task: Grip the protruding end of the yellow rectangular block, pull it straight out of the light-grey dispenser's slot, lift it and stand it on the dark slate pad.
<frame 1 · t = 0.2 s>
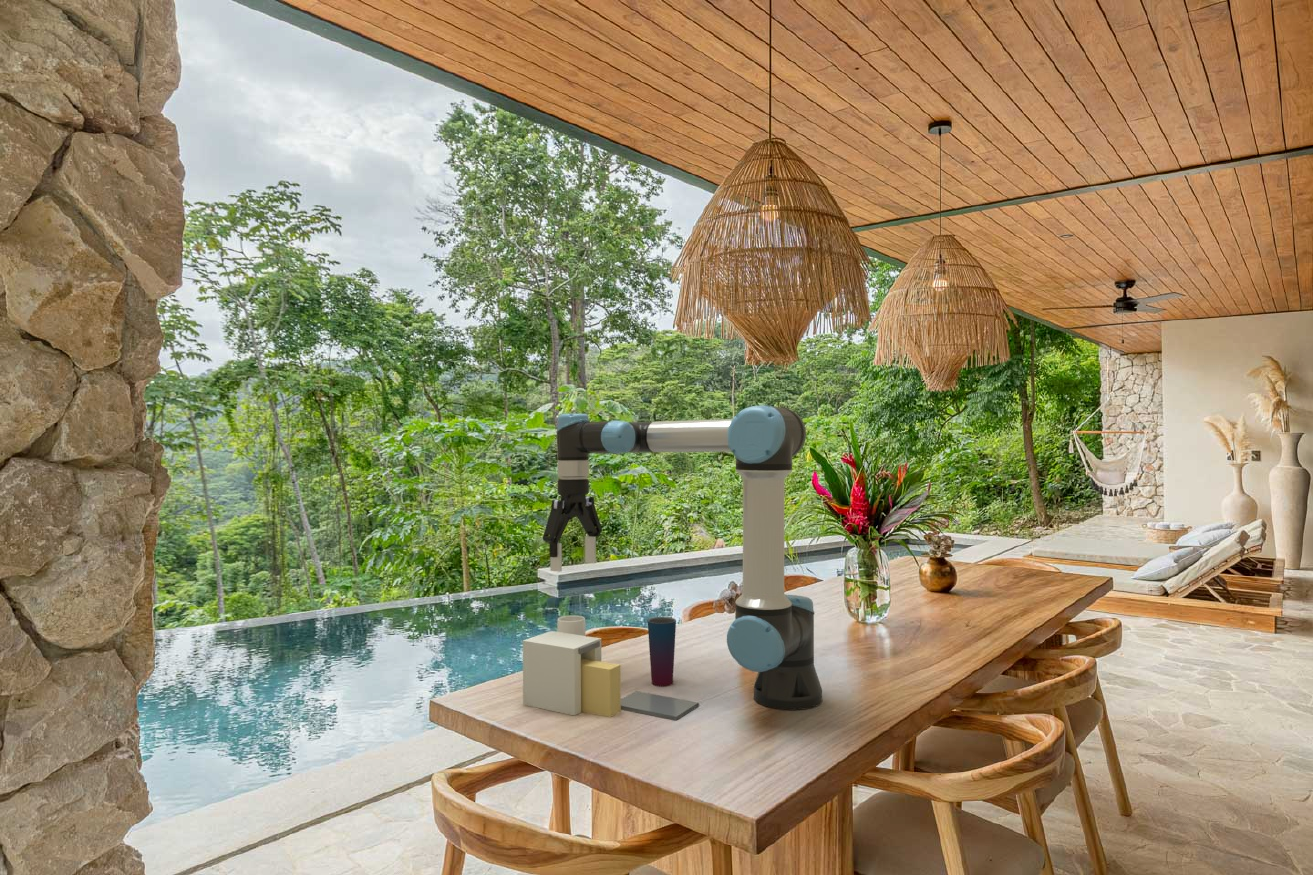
hand: (573, 566, 187), 28 cm above the table, fingers open, 13 cm apart
slate pad: (655, 706, 169), on the table
dispenser: (562, 703, 172), on the table
drinking glass: (571, 681, 188), on the table
yellow rectangular block: (588, 708, 168), on the table
cup: (662, 683, 185), on the table
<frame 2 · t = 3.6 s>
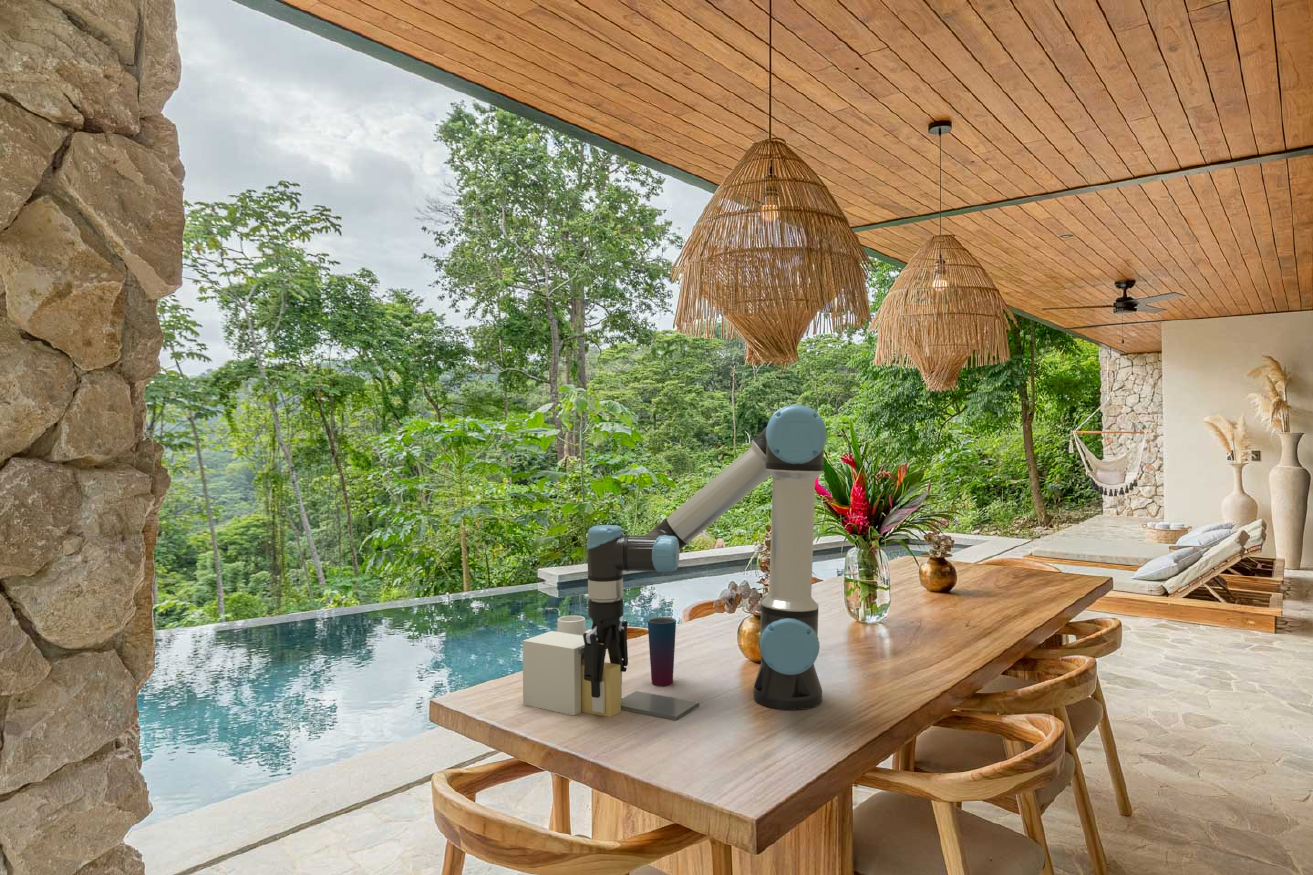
hand: (607, 706, 166), 1 cm above the table, fingers open, 6 cm apart
nothing on the table moved.
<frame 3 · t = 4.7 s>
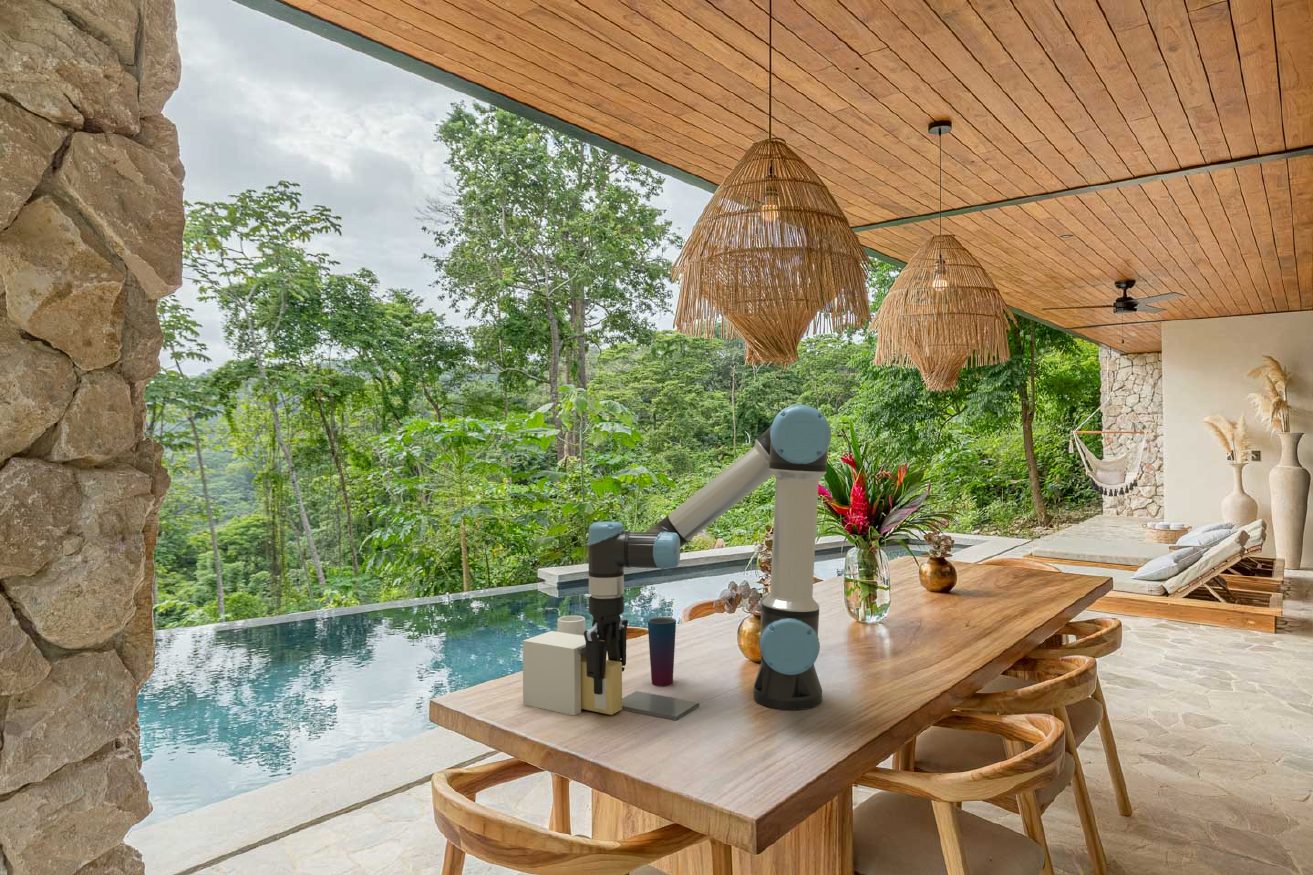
hand: (607, 704, 166), 2 cm above the table, fingers closed on yellow rectangular block, 4 cm apart
yellow rectangular block: (589, 706, 168), on the table, touching gripper
everything else where it was.
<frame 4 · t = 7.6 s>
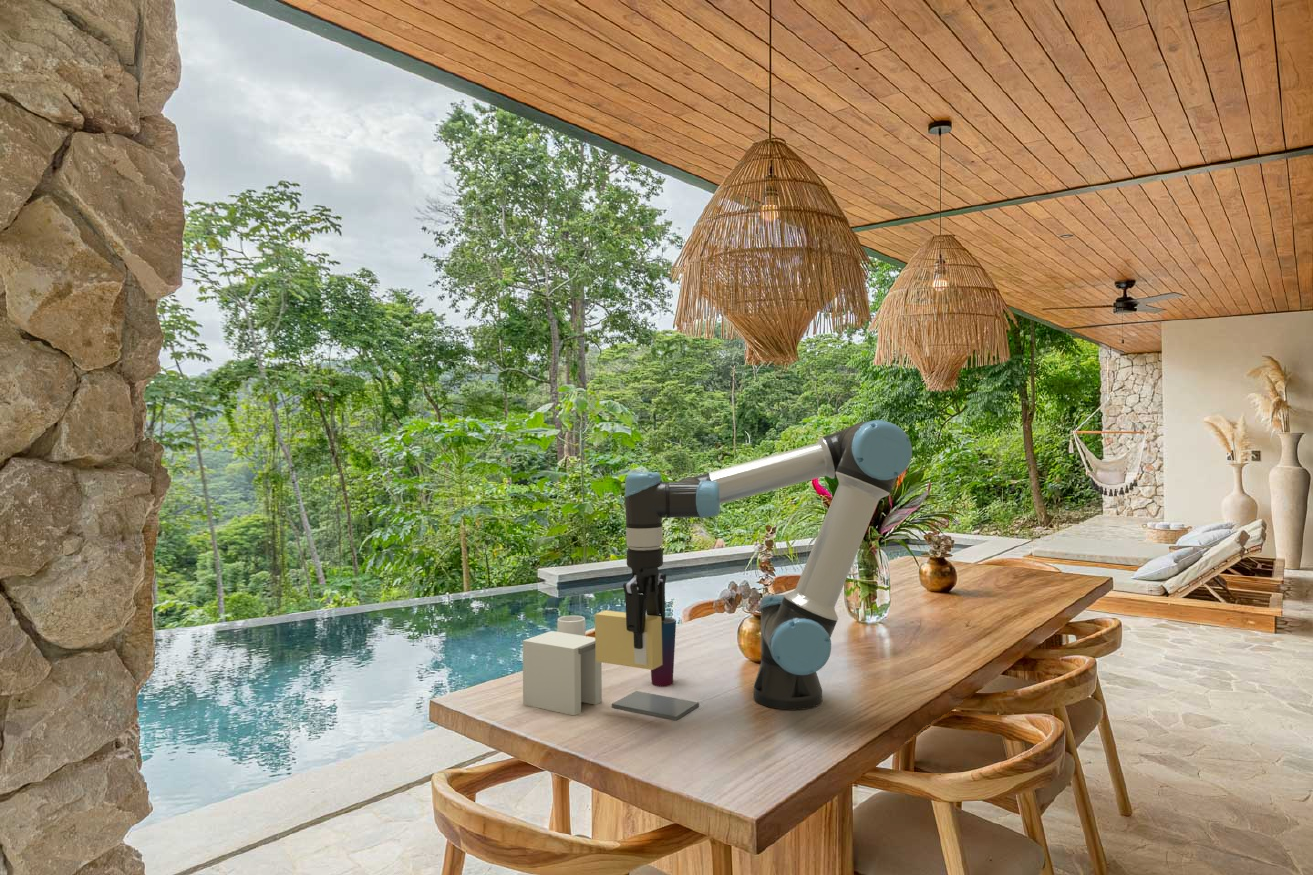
hand: (647, 660, 161), 12 cm above the table, fingers closed on yellow rectangular block, 4 cm apart
yellow rectangular block: (628, 663, 163), point 11 cm above the table, touching gripper
everything else where it was.
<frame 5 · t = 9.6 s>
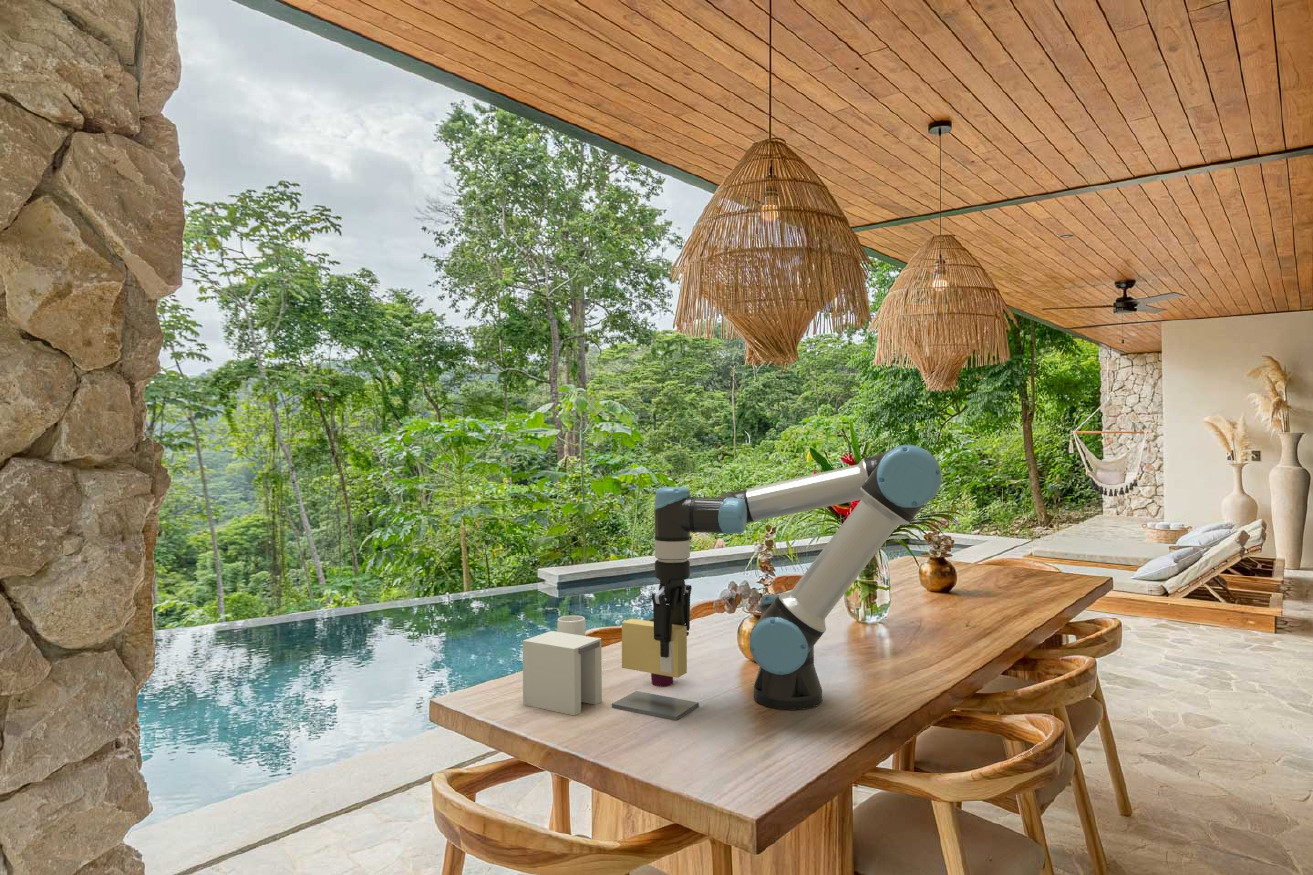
hand: (672, 668, 167), 9 cm above the table, fingers closed on yellow rectangular block, 4 cm apart
yellow rectangular block: (653, 670, 169), point 8 cm above the table, touching gripper
everything else where it was.
when the fingers open (2 cm above the table, at t = 11.0 s): yellow rectangular block stays where it is, resting on slate pad.
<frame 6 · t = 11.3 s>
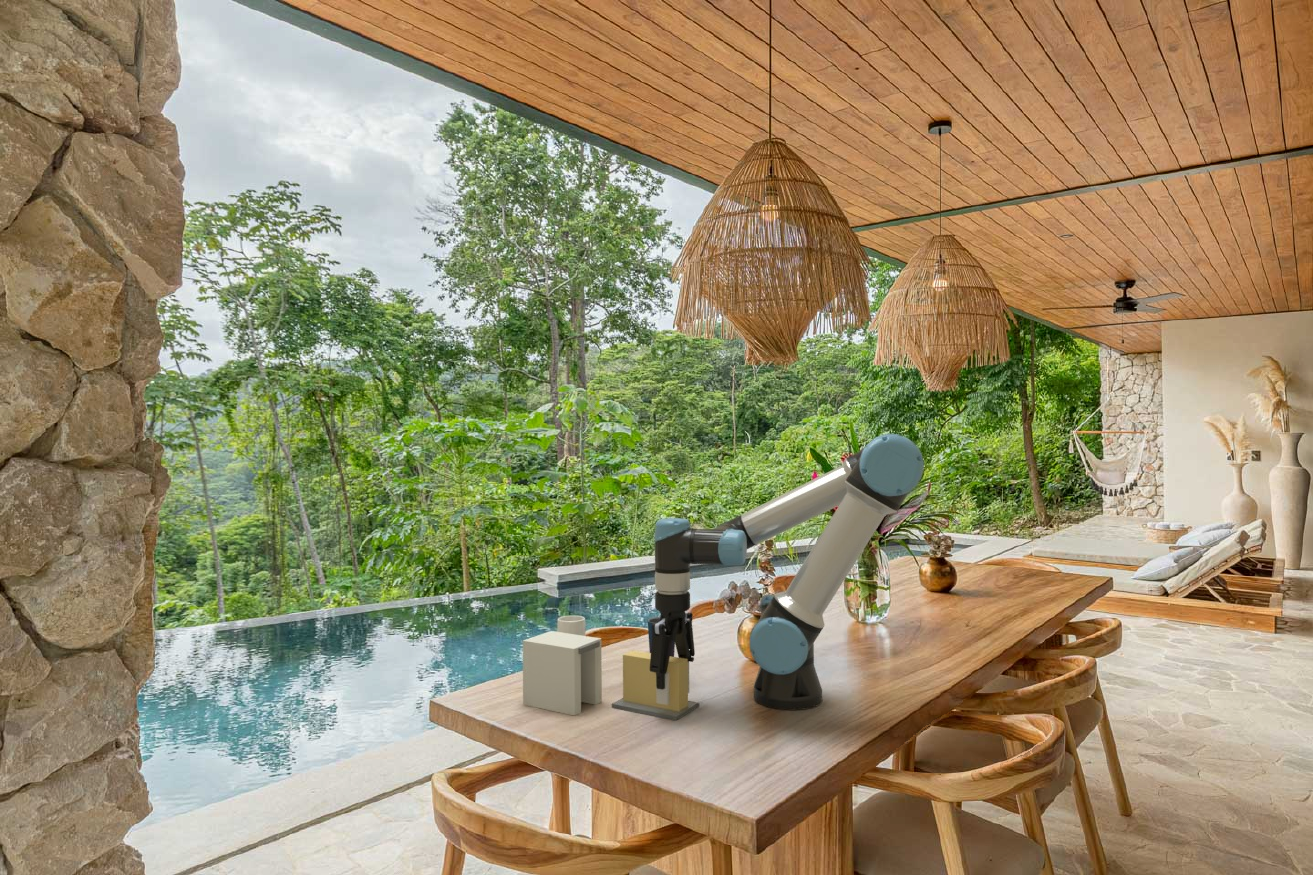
hand: (673, 697, 167), 3 cm above the table, fingers open, 8 cm apart
yellow rectangular block: (655, 702, 169), point 1 cm above the table, touching slate pad
everything else where it was.
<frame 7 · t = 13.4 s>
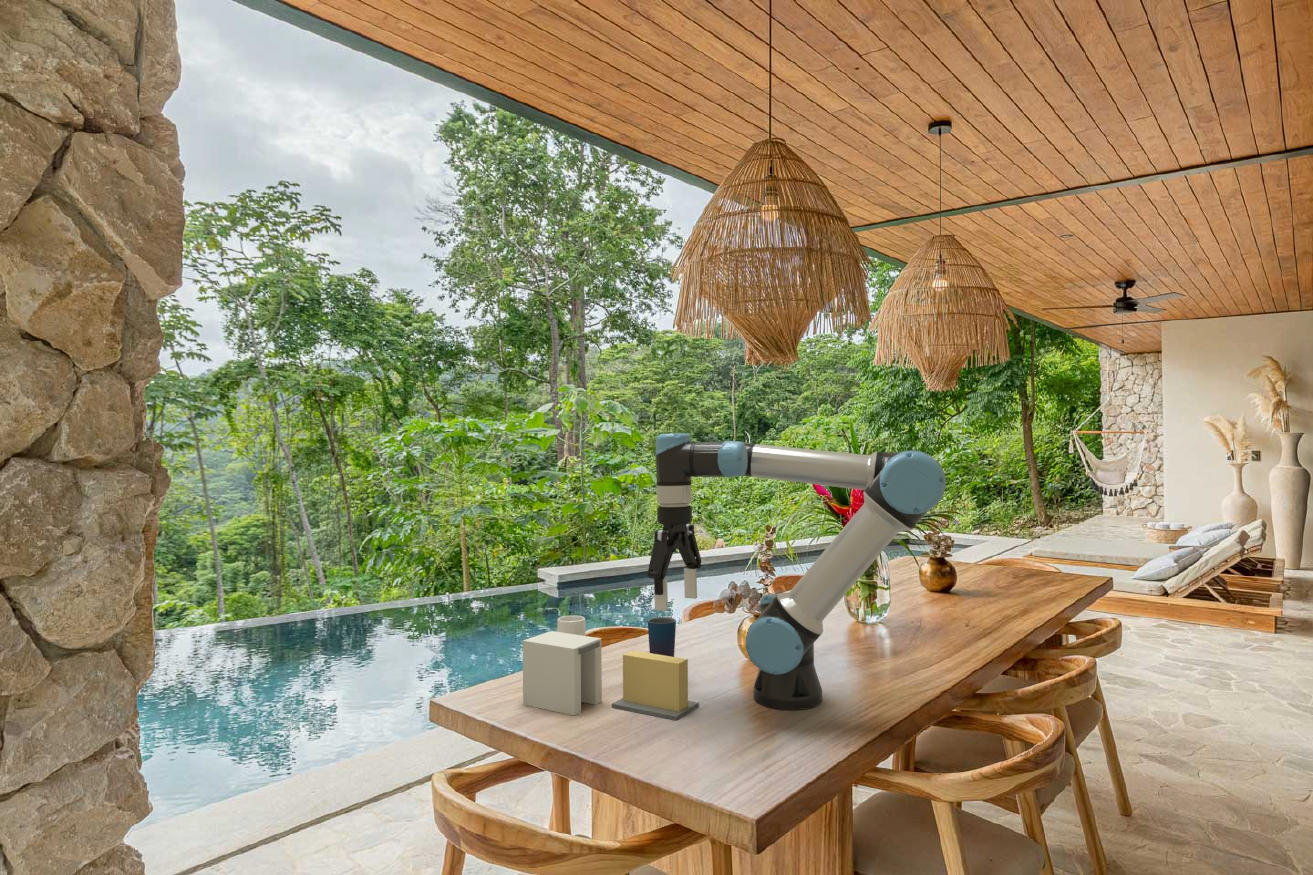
hand: (676, 603, 167), 23 cm above the table, fingers open, 13 cm apart
nothing on the table moved.
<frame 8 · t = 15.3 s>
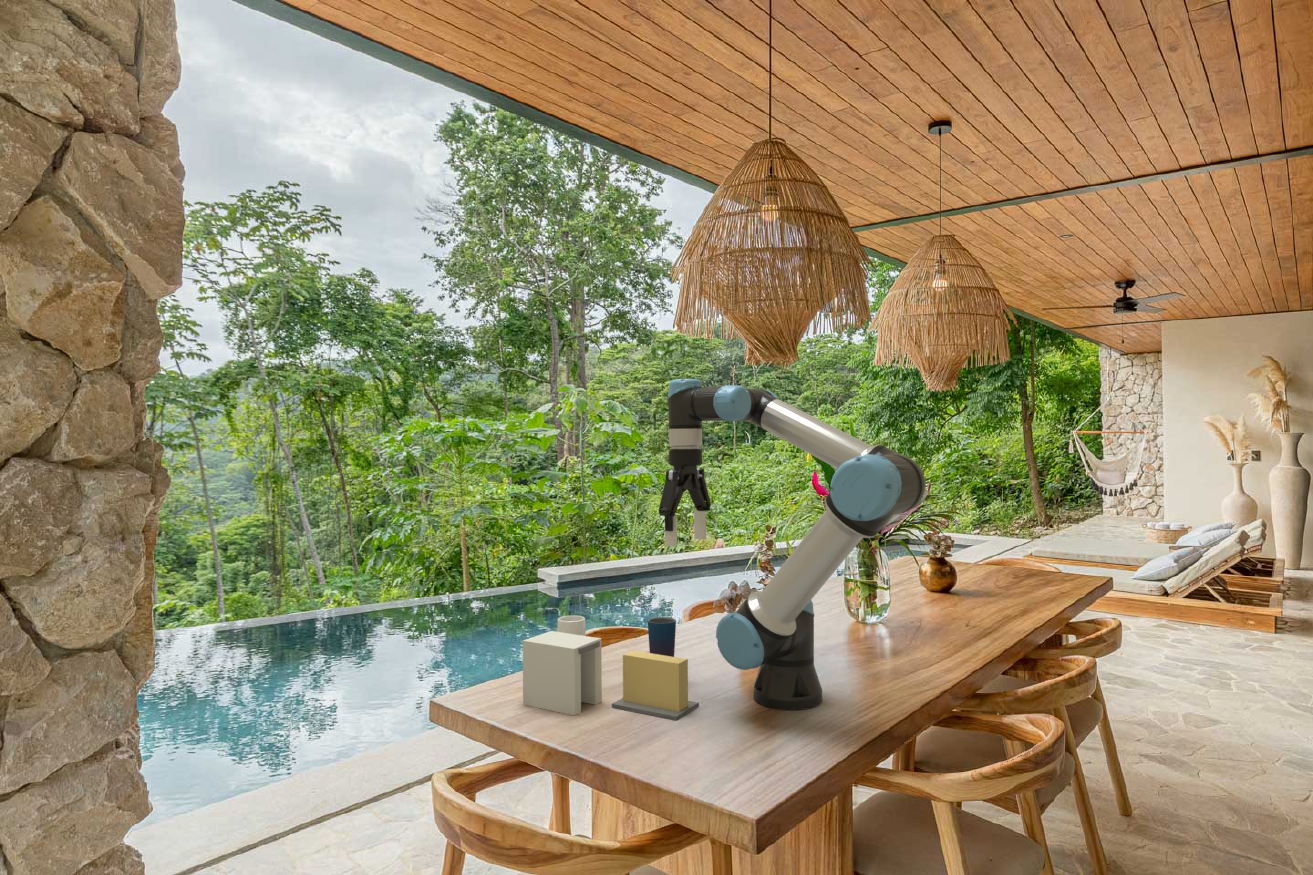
hand: (686, 542, 175), 35 cm above the table, fingers open, 13 cm apart
nothing on the table moved.
at the end: yellow rectangular block inside the target area (0.0 cm from its centre), point 0.8 cm above the table; yellow rectangular block tilted 0°; the gripper is holding nothing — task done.
